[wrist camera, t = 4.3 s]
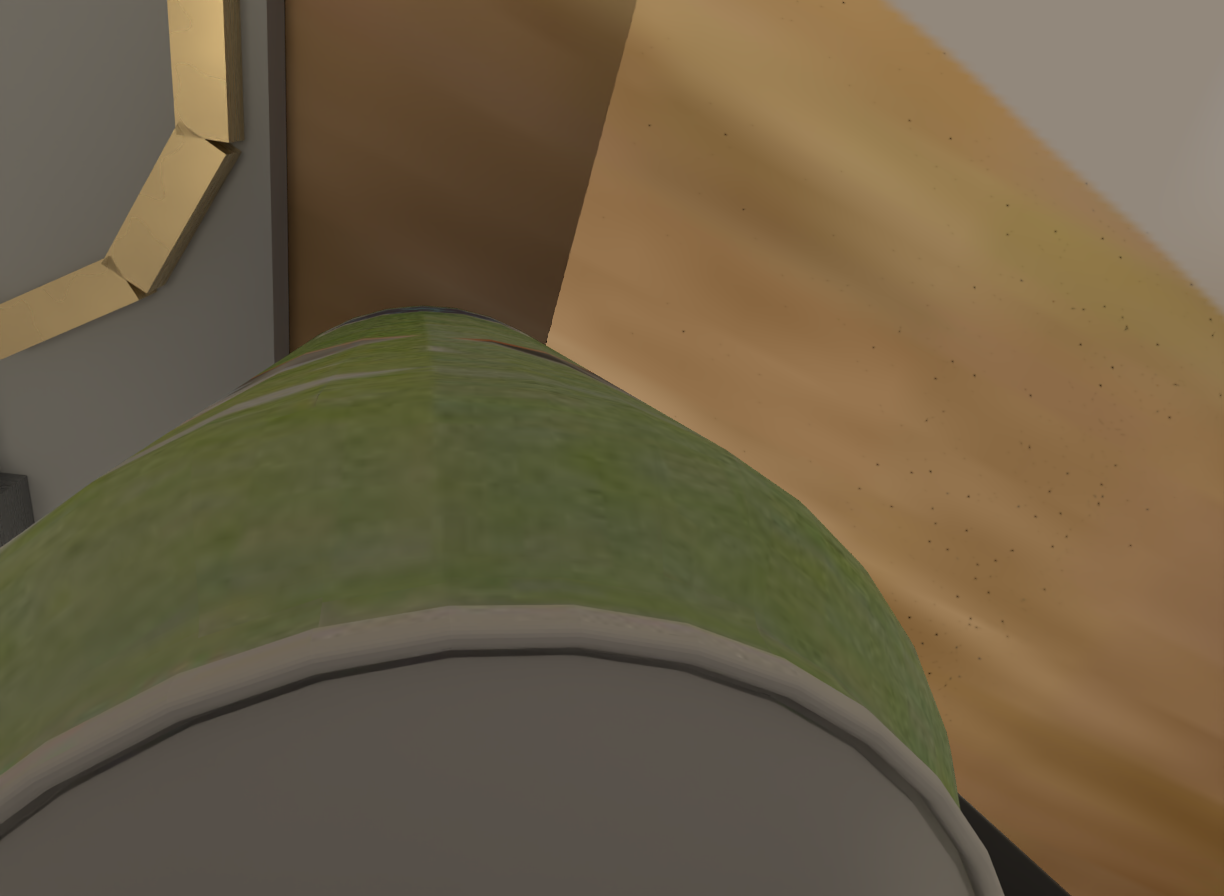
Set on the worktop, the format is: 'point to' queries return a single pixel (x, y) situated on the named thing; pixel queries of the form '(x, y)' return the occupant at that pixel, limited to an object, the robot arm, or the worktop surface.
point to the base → (94, 213)
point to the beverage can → (458, 653)
